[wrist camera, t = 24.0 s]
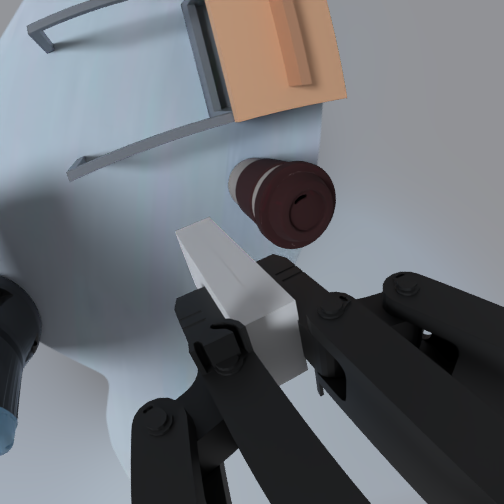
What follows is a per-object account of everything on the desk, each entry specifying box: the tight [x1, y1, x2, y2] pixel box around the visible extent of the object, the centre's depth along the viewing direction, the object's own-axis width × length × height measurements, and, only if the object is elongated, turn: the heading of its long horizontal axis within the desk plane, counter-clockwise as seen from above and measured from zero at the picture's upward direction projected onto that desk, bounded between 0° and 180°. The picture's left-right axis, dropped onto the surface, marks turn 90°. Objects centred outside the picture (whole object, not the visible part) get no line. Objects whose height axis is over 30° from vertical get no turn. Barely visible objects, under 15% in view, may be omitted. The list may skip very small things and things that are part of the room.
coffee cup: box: [228, 158, 336, 249], centre depth 40 cm, size 10×10×15 cm
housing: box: [27, 0, 235, 182], centre depth 31 cm, size 32×17×10 cm, turn 104°
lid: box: [205, 0, 347, 122], centre depth 27 cm, size 14×17×4 cm
